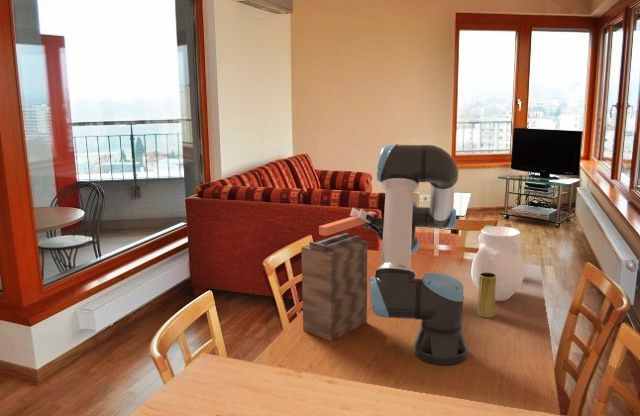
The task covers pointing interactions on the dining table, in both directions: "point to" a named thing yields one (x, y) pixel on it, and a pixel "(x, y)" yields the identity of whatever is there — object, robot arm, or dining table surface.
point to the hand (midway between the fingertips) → (356, 212)
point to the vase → (486, 295)
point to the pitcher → (499, 260)
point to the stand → (334, 286)
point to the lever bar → (342, 225)
